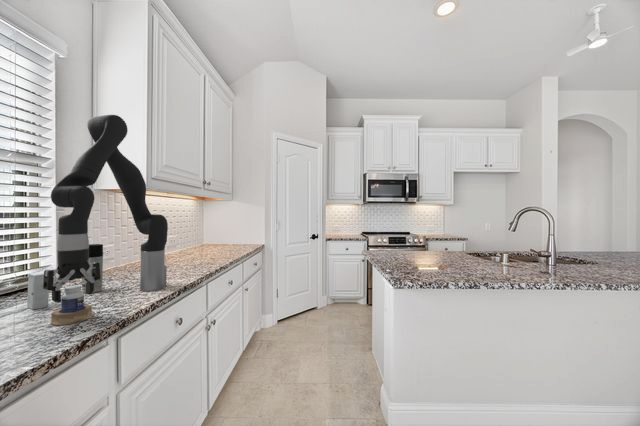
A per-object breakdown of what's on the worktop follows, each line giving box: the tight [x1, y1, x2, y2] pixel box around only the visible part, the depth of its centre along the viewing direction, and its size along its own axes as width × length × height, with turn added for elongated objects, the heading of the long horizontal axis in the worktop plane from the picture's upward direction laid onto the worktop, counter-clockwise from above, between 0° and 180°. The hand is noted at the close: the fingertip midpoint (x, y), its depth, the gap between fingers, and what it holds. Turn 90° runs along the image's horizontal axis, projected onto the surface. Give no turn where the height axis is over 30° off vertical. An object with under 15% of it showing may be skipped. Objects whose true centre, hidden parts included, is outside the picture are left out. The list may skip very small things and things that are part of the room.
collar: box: [50, 303, 93, 326], centre depth 89 cm, size 10×10×3 cm
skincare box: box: [26, 270, 50, 310], centre depth 99 cm, size 6×4×12 cm
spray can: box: [81, 243, 104, 295], centre depth 118 cm, size 7×7×20 cm
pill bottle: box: [60, 284, 85, 313], centre depth 89 cm, size 5×5×10 cm
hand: (73, 298), depth 89 cm, fingers open, 8 cm apart
